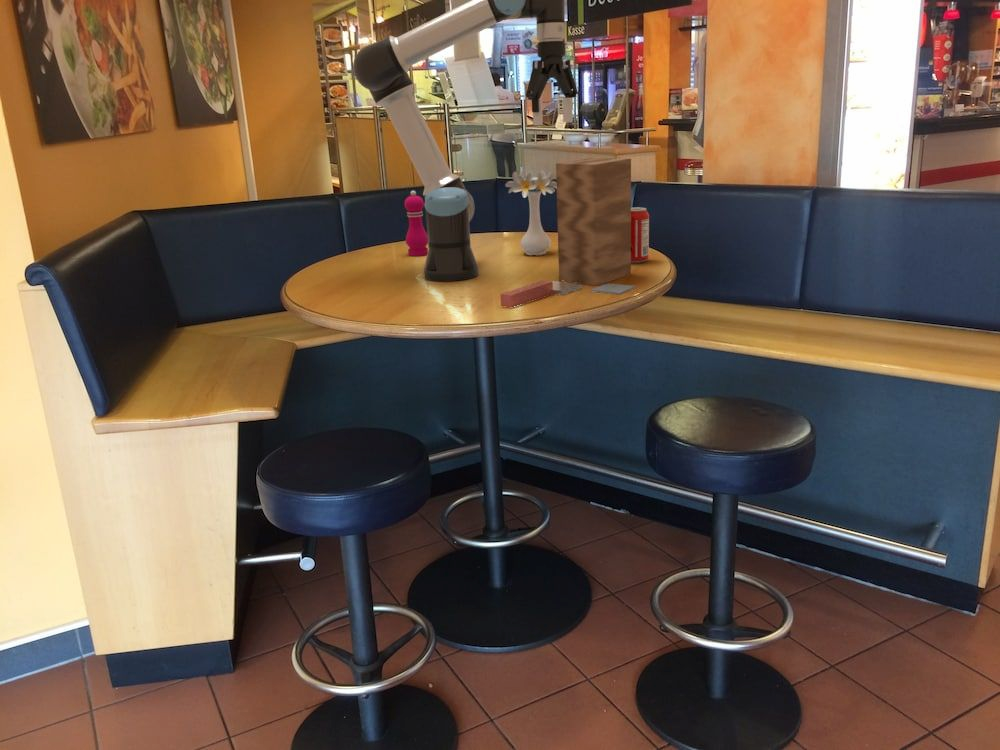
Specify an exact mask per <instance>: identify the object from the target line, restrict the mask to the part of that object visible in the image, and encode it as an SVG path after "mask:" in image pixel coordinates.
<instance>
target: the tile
mask: <svg viewBox="0 0 1000 750" xmlns="http://www.w3.org/2000/svg"><path fill="white" fill-rule="evenodd" d="M635 288H636V286H635V285H629V284H627V285H626V284H620V283H609V282H606V283H603V284H600V285H598V286H597V287H594V288H592V289H591V290H590V292H591V291H596V292H595V293H600V292H602V293H601V294H609V293H611V294H610V295H623V294H624V292H625V293H627V292H629V291H631V290H634V289H635Z"/></svg>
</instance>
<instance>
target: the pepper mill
mask: <svg viewBox="0 0 1000 750" xmlns="http://www.w3.org/2000/svg"><path fill="white" fill-rule="evenodd" d="M424 204H425V201H424V199H423V198H422V197H421V196H418V195H417V192H416V190H411V191H410V195H409V196H407V197H406V198H405V200H404V208H405V209H406V211H407V212H406V217H408V224H409V225H408V230H407V233H406V236H405V244H406V245H407V247H409V248H408V249H407V253H408V256H411V257H421V256H427V254H428V250H429V248H428V247H427V245H428V234H427V232H426V231H427V230H426V229H425V228H424V226H423V225H424V224H423V220H422V219H423V216H424V214H423V208H425V205H424Z"/></svg>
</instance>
